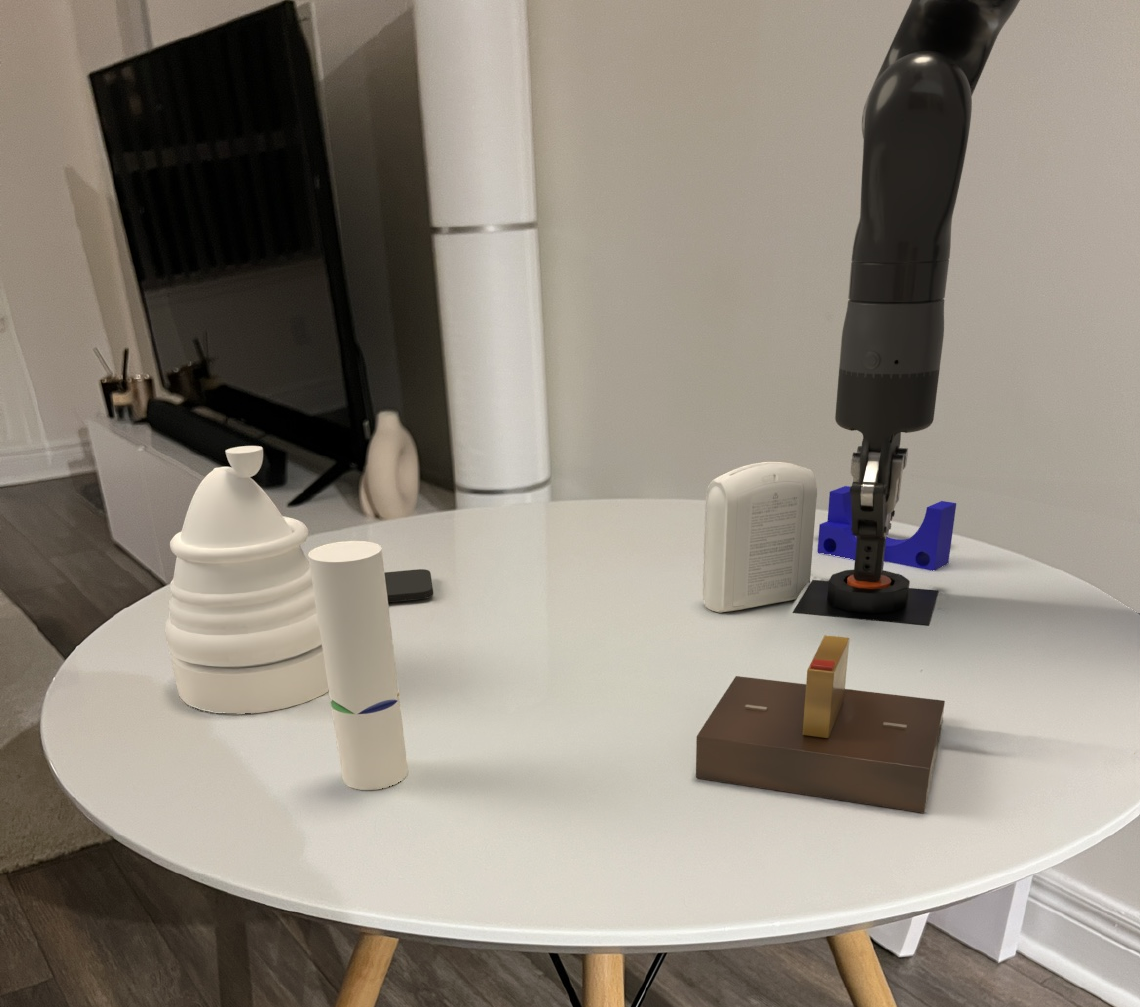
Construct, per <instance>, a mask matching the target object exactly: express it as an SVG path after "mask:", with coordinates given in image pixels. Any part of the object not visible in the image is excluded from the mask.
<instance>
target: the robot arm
mask: <svg viewBox="0 0 1140 1007" xmlns="http://www.w3.org/2000/svg"><path fill="white" fill-rule="evenodd" d="M1020 1H1021V0H911V1H910V3H909V5H908V7H907V9H906V11H905V13H904V16H903V18H902V20H901V22H900V24H899V26H898V29H897V31H896V33H895V35H894V37H893V39H892V42H891V44H890V46H889V48H888V51H887V53H886V55H885V58H884V60H883V62H882V64H881V66H880V69H879V71H878V73H877V75H876V78H875V79H874V82H873V84H872V86H871V89H870V91H869V93H868V95H867V97H866V100H865V103H864V106H863V109H862V116H861V134H862V140H863V145H862V146H863V147H862V164H861V166H862V167H861V188H860V208H859V210H860V211H859V220H858V223H857V225H856V230H855V233H854V239H853V245H852V252H851V262H850V272H849V283H848V295H847V296H848V297H847V298H848V300H847V307H846V312H845V316H844V321H843V325H842V331H841V340H840V343H841V344H840V354H839V364H838V365H839V366H838V377H837V378H838V379H837V389H836V402H835V416H834V420H835V423H836V424H837V426H839V427H840V428H842V429H845V430H847V431H851V432H853V431H857V432H859V433H861V434H862V441H861V445H858V446H857V449H856V451H855V452H854V451H853V452H852V455H851V460H850V462H851V463H850V475H851V476H852V478H853V479H852V483H851V486H849V487H850V493H851V512H852V527H851V531H852V534H853V535H855V537H857V544H856V554H855V560H854V567H853V570H854V578H855V580H857V581H866V582H878V581H879V580H880V577H881V575H882V573H883V570H884V564H885V561H884V555H885V545H886V537H888V535H889V532H890V530H891V529H892V523H891V522H892V521H893V518H894V517H895V515H896V510H895V508H896V505H897V504H898V502H899V500H900V494H901V487H902V479H903V471H904V470H905V468H906V467H907V465H908V464H907V462H908V454H909V448H908V447H901V438H902V433H904V434H909V433H916V432H919V431H923V430H926V429H928V428H929V427H930V426H932V424H933V423H934V418H935V411H936V404H937V395H938V394H937V393H938V387H939V379H940V372H941V371H940V370H941V363H942V362H941V361H942V354H943V353H942V352H943V344H944V337H945V336H944V335H945V301H946V300H945V297H946V290H947V281H948V274H949V273H948V272H949V266H950V265H949V264H950V258H951V247H952V245H951V243H952V224H953V216H954V210H955V207H956V203H957V200H958V194H959V189H960V184H961V180H962V174H963V169H964V165H965V160H966V154H967V148H968V143H969V136H970V130H971V129H970V128H971V121H972V112H973V94H974V92H975V90H976V87H977V85H978V83H979V80H980V78H981V76H982V74H983V71H984V69H985V66H986V64H987V62H988V60H989V58H990V55H991V52H992V50H993V48H994V46H995V43H996V41H997V38H998V36H999V34H1000V32H1001V31H1002V29H1003V28H1004V26H1005V25H1006V23H1007V22H1008V20H1009V19H1010V18H1011V16H1012V15H1013V14H1014V12H1015V10H1016V8H1017V7H1018V5H1019V3H1020Z"/></svg>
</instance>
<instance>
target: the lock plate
mask: <svg viewBox="0 0 1140 1007" xmlns="http://www.w3.org/2000/svg"><path fill="white" fill-rule="evenodd" d="M805 694H806V683H800V682H799V683H798V682H790V681H781V680H774V679H764V678H756V677H749V676H740V675H735V677H734V678H733V680H732V681H731V682H730V684H729V686H728V687H727V689H726V690H725V692H724V693H723V694H722V696H721V697H720V700H719V701H718V702H717V704H716V706H715V708H713V710H712V712H711V714H710V715H709V717H708V718H707V720H706V721H705V723H704V724H703V726H702V727H701V729H700V730H699V731H698V733H697V735H696V744H695V745H696V747H695V753H696V754H695V778H696V779H700V780H707V781H714V782H720V783H727V784H731V785H732V784H734V785H739V786H740V785H741V786H745V787H753V788H758V789H765V790H772V791H778V792H784V793H792V794H797V795H799V794H800V795H803V796H804V795H805V796H811V797H816V798H817V797H818V798H822V799H823V798H824V799H831V800H837V801H843V802H850V803H857V804H863V805H869V806H876V807H881V808H882V807H883V808H888V809H889V808H890V809H896V810H902V811H907V812H915V813H921V814H925V810H926V806H927V801H928V798H929V793H930V788H931V783H932V778H933V773H934V770H935V764H936V760H937V755H938V751H939V745H940V741H941V740H940V739H941V732H942V726H943V725H942V724H943V718H944V711H945V703H946V701H945V700H941V699H933V698H925V697H924V698H923V697H917V696H909V695H901V694H900V695H898V694H891V693H883V692H875V691H867V690H857V689H849V688H845V693H844V701H843V703H842V706H841V708H840V711H839V713H838V716H837V718H836V721H835V723H834V726H833V728H832V731H831V733H830V736H829V738H822V737H814V736H807V735H803V722H804V708H805Z"/></svg>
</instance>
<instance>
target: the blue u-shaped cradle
mask: <svg viewBox="0 0 1140 1007" xmlns="http://www.w3.org/2000/svg"><path fill="white" fill-rule="evenodd" d="M956 510H957V502H952V501H946V500H940V501H938V502H936V503H934V504H931V505H929V506H927V507H926V510H925V514H924V518H923V520H922V522H921V524H920V526H919V527H918V528H917V530H916V532H914V533H913V535H912V536H911V537H909V538H904V539H903V538H902V539H901V538H900V539H899V538H892V537H889V536H886V545H885V555H884V562H885V563H892V564H895V565H900V566H901V565H902V566H905V567H912V568H915V569H921V570H926V571H931V570H932V571H931V572H934V571H933V570H935V571H937V570H939V569H941V568H943V567H944V565H945V566H947V565H948V564H950V563H949V562H950V554H951V547H952V539H953V533H954V525H955V518H956ZM827 512H828V513H827V520H826V521H824V522H821V523H820V524H819V526H818V540H817V551H816V553H817V552H818V553H817V554H820V553H824V554H823V555H825V554H831V555H835V556H840V557H845V558H850V559H853V560H852V561H855V554H856V544H857V537H855V535H853V534H852V531H851V527H852V512H851V493H850V486H849V485H844V486H842V487H841V486H840V487H838V488H836V489H832V490H831V491H830V490H829V496H828V509H827ZM835 556H834V557H835ZM840 557H839V558H840ZM845 558H844V559H845ZM850 559H849V560H850ZM947 563H948V564H947ZM946 564H947V565H946ZM942 566H943V567H942Z"/></svg>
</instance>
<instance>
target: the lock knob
mask: <svg viewBox="0 0 1140 1007" xmlns="http://www.w3.org/2000/svg"><path fill="white" fill-rule="evenodd" d="M849 650H850V637H847V636H846V637H845V636H835V635H825V634H824V636H823V638H822V639H821V641H820V644H819V646H818V647H817V649H816V652H815V654H814V656H813V658H812V660H811V662H810V664H809V665H808V668H807V670H806V681H805V682H806V683H805V684H806V694H805V708H804V722H803V735H807V736H814V737H822V738H829V736H830V733H831V731H832V728H833V726H834V723H835V721H836V718H837V716H838V713H839V711H840V708H841V706H842V703H843V701H844V693H845V689H846V681H847V671H848V668H847V667H848V658H849Z"/></svg>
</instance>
